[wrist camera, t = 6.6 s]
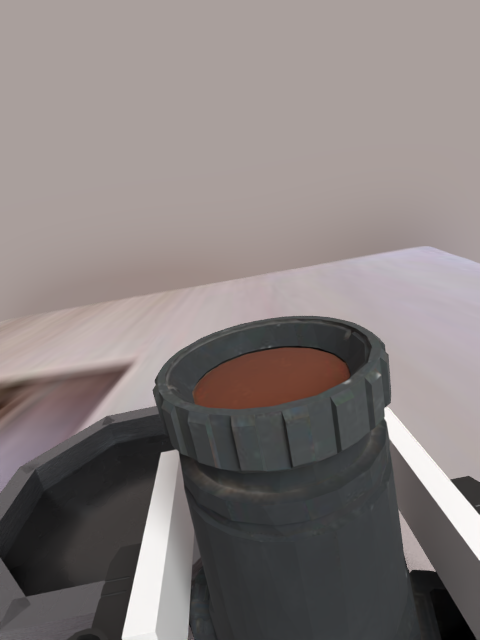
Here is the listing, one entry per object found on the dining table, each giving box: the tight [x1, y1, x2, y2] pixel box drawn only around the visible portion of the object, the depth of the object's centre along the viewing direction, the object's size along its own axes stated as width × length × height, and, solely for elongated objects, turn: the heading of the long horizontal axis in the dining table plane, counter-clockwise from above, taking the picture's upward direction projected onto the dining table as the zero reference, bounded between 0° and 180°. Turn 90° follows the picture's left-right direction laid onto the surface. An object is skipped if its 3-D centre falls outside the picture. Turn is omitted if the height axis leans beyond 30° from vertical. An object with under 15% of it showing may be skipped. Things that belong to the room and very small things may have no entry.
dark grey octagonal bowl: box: [0, 406, 203, 640], centre depth 26 cm, size 18×18×2 cm
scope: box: [153, 316, 477, 640], centre depth 11 cm, size 8×14×10 cm
